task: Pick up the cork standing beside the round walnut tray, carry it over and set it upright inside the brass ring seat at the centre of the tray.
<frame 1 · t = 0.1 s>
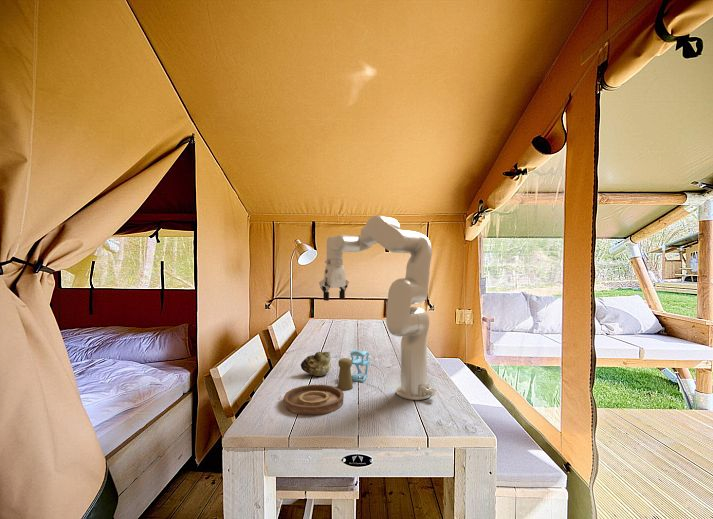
hand: (334, 299, 154), 31 cm above the table, tool pointing down, fingers open, 9 cm apart
chair: (359, 378, 139), on the table
cork: (345, 388, 128), on the table
ring tray: (314, 402, 114), on the table
seashell: (317, 375, 143), on the table
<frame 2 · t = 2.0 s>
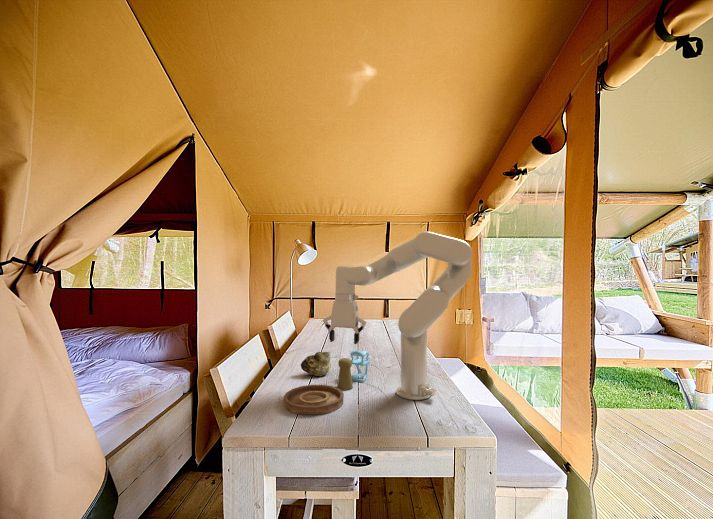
hand: (344, 342, 128), 17 cm above the table, tool pointing down, fingers open, 9 cm apart
nothing on the table moved.
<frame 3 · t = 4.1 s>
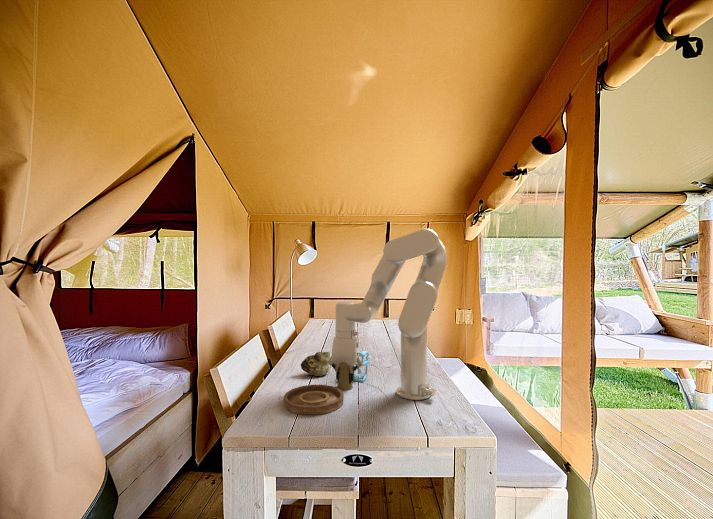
hand: (345, 381, 128), 2 cm above the table, tool pointing down, fingers closed on cork, 4 cm apart
cork: (344, 388, 128), on the table, touching gripper
everything else where it was.
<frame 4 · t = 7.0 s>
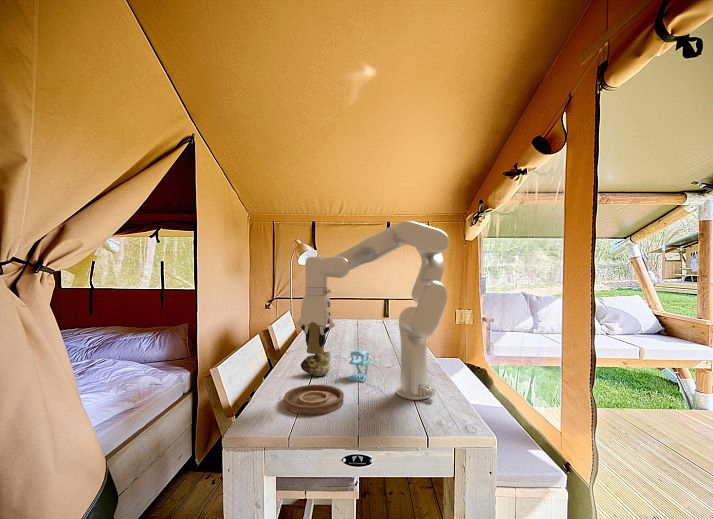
hand: (315, 344, 115), 19 cm above the table, tool pointing down, fingers closed on cork, 4 cm apart
cork: (315, 352, 115), point 17 cm above the table, touching gripper
everything else where it was.
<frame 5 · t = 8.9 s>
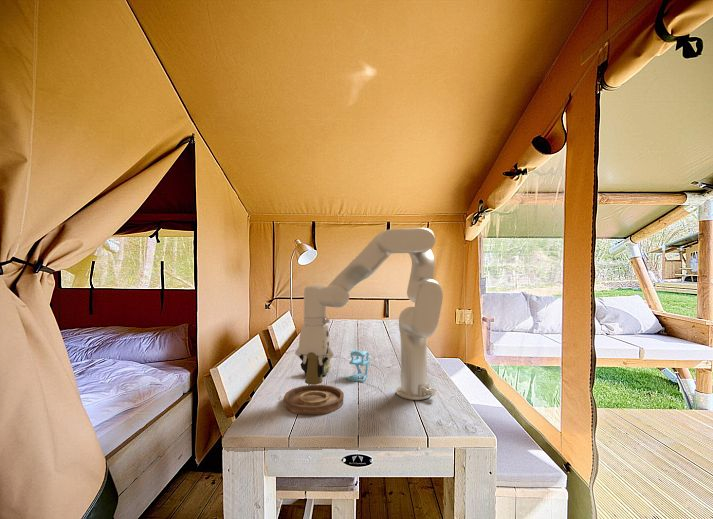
hand: (313, 374, 114), 9 cm above the table, tool pointing down, fingers closed on cork, 4 cm apart
cork: (313, 382, 114), point 7 cm above the table, touching gripper
everything else where it was.
when the fingers open (5 cm above the table, at t = 10.1 s): cork drops 2 cm, resting on ring tray.
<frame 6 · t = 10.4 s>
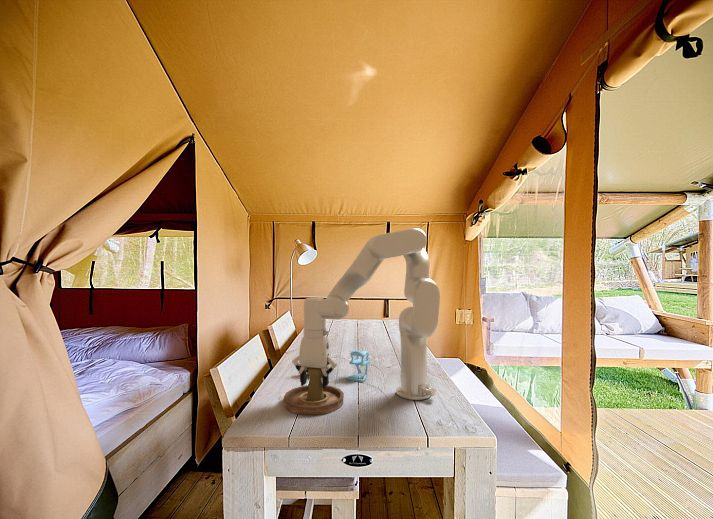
hand: (314, 385, 114), 6 cm above the table, tool pointing down, fingers open, 7 cm apart
cork: (315, 399, 114), point 1 cm above the table, touching ring tray
everything else where it was.
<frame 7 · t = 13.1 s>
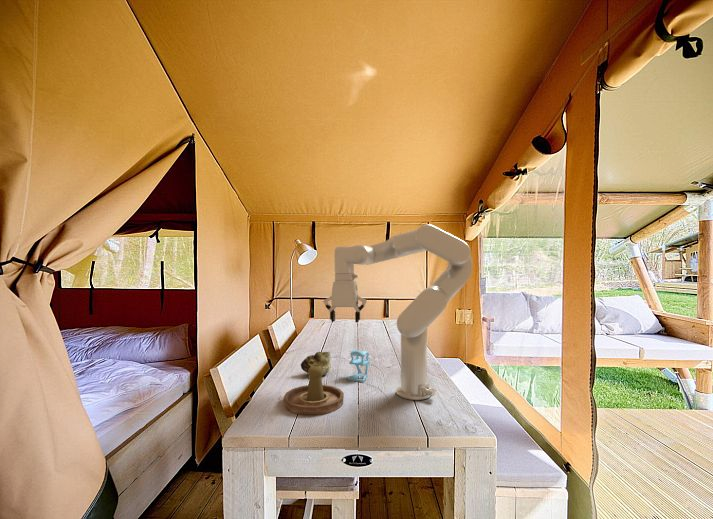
hand: (345, 321, 130), 25 cm above the table, tool pointing down, fingers open, 9 cm apart
nothing on the table moved.
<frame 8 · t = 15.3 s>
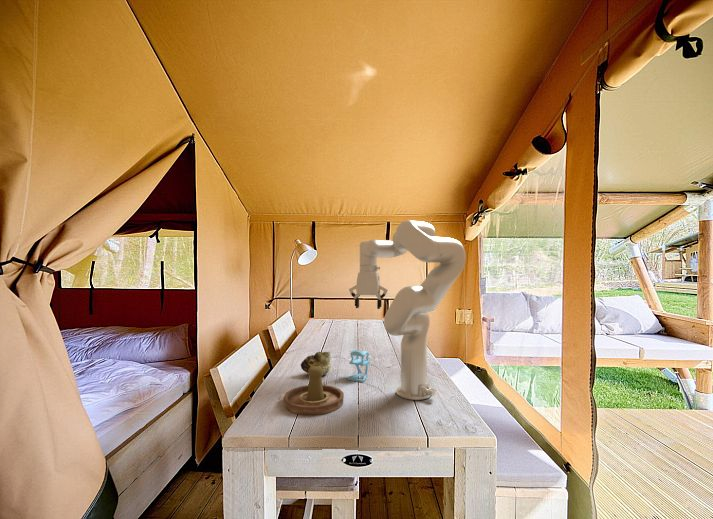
hand: (368, 308, 146), 28 cm above the table, tool pointing down, fingers open, 9 cm apart
nothing on the table moved.
at the end: cork 0.4 cm off-centre on the ring tray, point 0.8 cm above the ring tray's base; cork tilted 0°; the gripper is holding nothing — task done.
